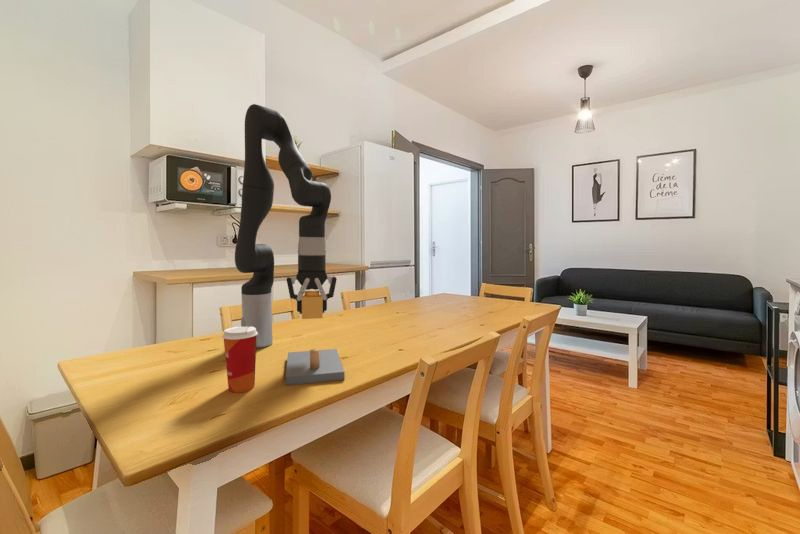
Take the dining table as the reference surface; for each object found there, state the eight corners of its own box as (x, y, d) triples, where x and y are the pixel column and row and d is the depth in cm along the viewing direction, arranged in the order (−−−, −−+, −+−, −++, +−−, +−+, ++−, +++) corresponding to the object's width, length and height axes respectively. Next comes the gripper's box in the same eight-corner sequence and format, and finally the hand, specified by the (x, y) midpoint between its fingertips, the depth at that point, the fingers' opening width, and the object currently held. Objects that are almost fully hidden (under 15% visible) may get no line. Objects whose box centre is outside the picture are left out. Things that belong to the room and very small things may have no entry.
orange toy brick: (301, 319, 101) (301, 293, 101) (301, 314, 107) (301, 290, 106) (322, 318, 103) (322, 292, 102) (321, 313, 108) (321, 289, 108)
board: (285, 385, 88) (285, 358, 88) (288, 359, 108) (287, 337, 107) (344, 379, 92) (344, 354, 92) (336, 355, 111) (336, 334, 111)
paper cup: (233, 381, 91) (231, 325, 90) (264, 381, 91) (263, 325, 89) (216, 394, 83) (214, 333, 82) (250, 395, 83) (248, 333, 82)
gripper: (336, 253, 109) (336, 309, 110) (285, 252, 105) (285, 311, 106) (339, 254, 101) (338, 314, 103) (284, 253, 98) (284, 316, 99)
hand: (311, 312), depth 105 cm, fingers closed on orange toy brick, 5 cm apart
